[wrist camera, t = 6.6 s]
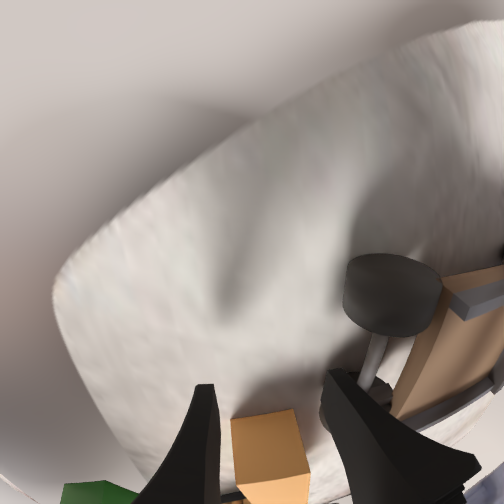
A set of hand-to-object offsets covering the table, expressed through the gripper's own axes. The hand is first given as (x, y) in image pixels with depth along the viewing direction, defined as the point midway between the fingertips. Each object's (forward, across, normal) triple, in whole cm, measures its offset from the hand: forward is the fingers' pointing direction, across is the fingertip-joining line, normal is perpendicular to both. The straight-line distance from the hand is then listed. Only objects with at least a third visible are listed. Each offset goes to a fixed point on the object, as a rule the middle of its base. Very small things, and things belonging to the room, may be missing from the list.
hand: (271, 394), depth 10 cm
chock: (+3, -1, +11) cm, 11 cm away
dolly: (+3, -12, 0) cm, 12 cm away
